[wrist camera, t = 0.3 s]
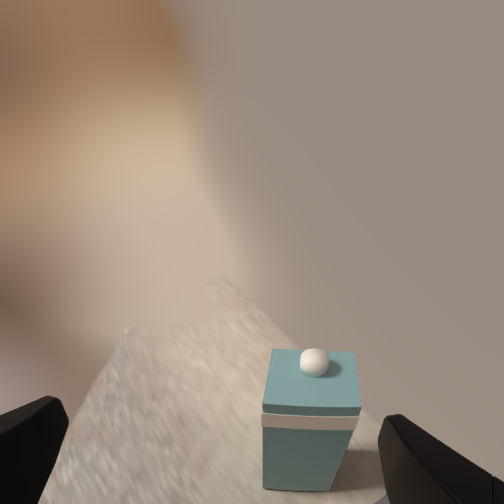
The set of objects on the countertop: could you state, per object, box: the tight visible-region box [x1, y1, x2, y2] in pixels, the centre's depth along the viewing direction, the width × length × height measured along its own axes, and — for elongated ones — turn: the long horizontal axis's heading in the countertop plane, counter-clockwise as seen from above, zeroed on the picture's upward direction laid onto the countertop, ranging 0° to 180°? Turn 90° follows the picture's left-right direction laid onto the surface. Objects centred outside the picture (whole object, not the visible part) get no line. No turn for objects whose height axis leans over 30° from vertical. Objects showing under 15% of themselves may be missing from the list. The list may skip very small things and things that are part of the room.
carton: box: [261, 349, 362, 491], centre depth 18 cm, size 5×5×12 cm
